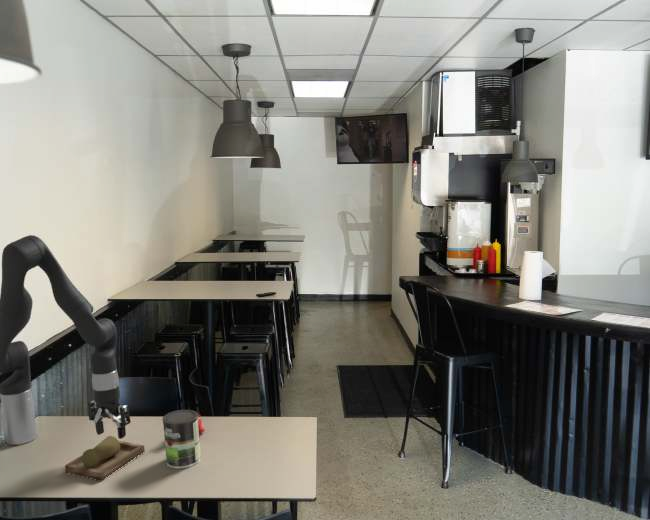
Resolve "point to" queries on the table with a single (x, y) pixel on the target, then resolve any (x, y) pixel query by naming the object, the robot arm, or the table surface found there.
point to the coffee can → (181, 438)
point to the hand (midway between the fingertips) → (111, 435)
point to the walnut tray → (106, 462)
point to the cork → (101, 451)
